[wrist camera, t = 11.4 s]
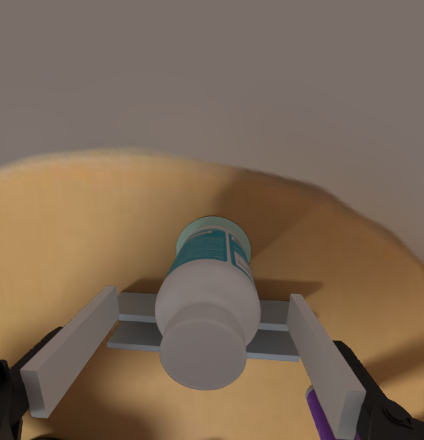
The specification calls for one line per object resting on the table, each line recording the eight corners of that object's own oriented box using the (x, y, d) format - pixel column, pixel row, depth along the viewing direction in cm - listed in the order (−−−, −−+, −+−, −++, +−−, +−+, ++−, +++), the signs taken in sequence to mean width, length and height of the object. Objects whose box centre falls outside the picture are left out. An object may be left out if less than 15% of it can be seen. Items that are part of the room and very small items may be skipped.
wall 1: (121, 297, 26) (103, 319, 22) (121, 291, 26) (102, 313, 22) (290, 306, 25) (303, 332, 21) (291, 301, 24) (304, 325, 21)
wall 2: (124, 322, 27) (107, 348, 23) (123, 317, 27) (106, 342, 23) (287, 333, 26) (298, 361, 22) (288, 328, 25) (299, 356, 22)
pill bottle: (174, 268, 24) (115, 382, 11) (195, 214, 22) (154, 273, 9) (230, 290, 24) (238, 427, 11) (255, 238, 23) (299, 328, 9)
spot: (177, 283, 25) (176, 284, 25) (175, 215, 23) (174, 215, 23) (248, 287, 24) (248, 288, 24) (253, 217, 22) (253, 218, 22)
